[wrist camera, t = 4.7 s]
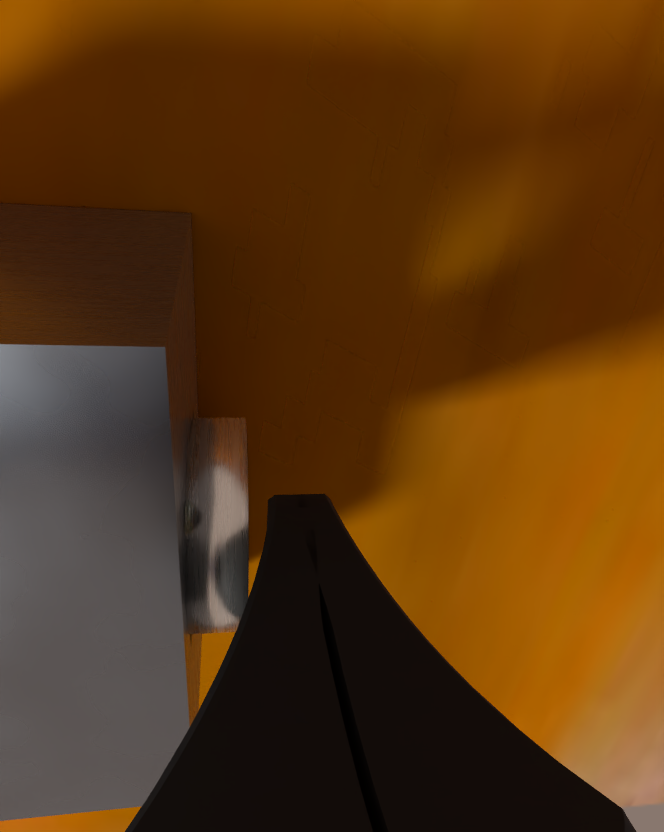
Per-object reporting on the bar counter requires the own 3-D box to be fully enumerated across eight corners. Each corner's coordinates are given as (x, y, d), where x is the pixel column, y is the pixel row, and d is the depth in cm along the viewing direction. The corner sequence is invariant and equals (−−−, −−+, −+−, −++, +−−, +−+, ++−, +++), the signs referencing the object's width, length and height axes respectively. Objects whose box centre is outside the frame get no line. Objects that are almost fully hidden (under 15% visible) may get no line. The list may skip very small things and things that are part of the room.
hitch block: (191, 212, 11) (165, 346, 7) (204, 583, 17) (194, 800, 12) (-168, 194, 10) (-488, 335, 6) (-33, 594, 16) (-143, 835, 11)
